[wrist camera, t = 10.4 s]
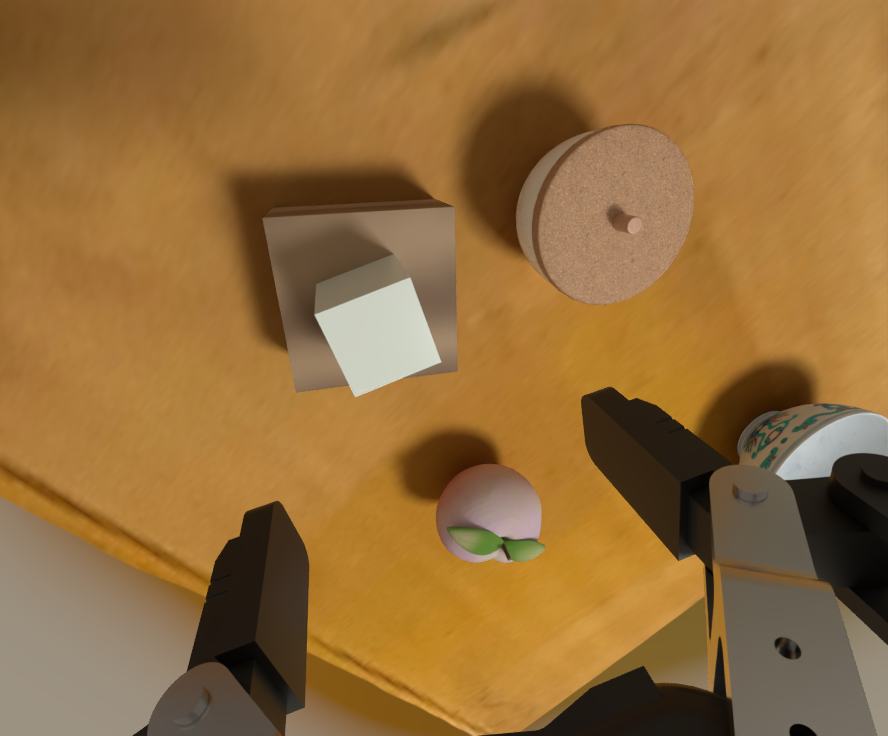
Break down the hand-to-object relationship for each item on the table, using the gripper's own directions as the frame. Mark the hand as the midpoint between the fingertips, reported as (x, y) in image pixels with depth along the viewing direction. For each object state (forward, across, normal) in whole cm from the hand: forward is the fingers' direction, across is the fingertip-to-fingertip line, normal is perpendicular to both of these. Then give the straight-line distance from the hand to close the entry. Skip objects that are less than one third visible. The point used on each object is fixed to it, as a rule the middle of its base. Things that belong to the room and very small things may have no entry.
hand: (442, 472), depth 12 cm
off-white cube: (+19, 0, +1) cm, 19 cm away
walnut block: (+25, 0, +1) cm, 25 cm away
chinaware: (+24, -37, +31) cm, 54 cm away
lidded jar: (+25, -16, 0) cm, 29 cm away
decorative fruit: (+24, -4, +22) cm, 33 cm away
